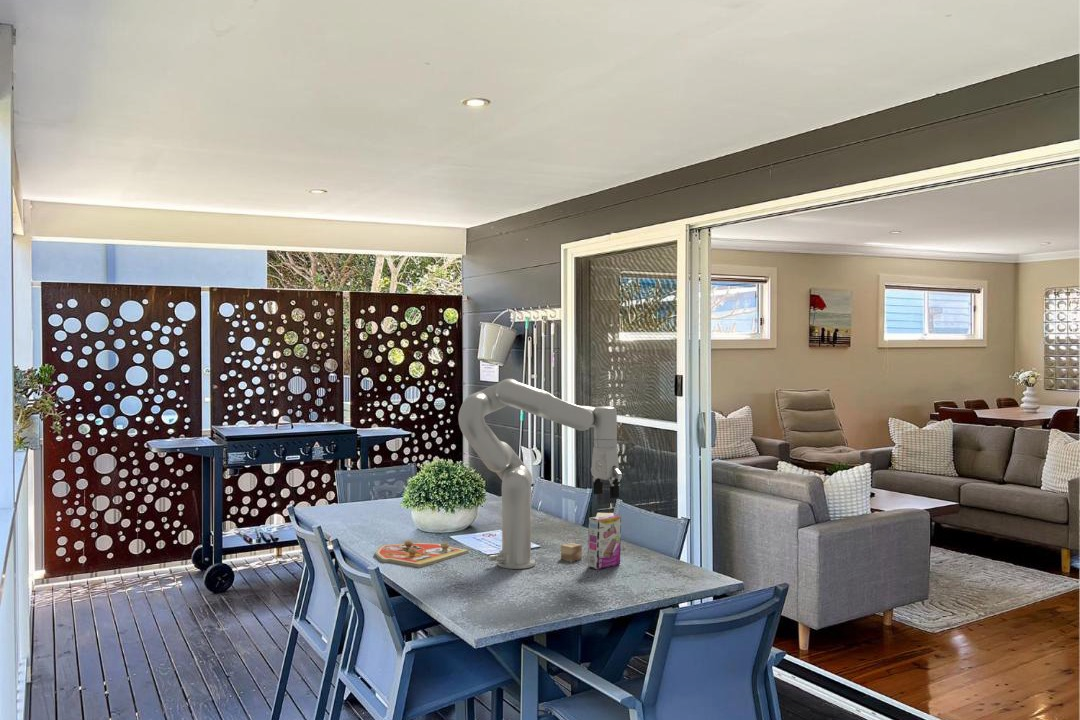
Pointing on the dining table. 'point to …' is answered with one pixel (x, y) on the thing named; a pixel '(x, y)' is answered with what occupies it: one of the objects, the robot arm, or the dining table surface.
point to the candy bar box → (604, 541)
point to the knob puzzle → (417, 553)
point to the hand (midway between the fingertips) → (606, 495)
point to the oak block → (571, 551)
